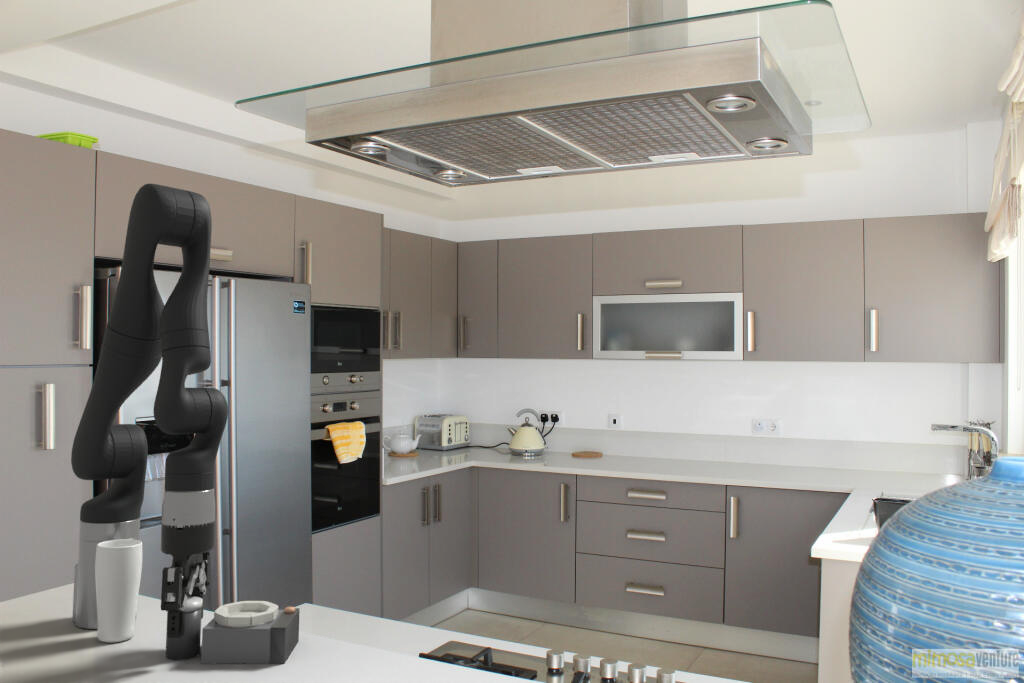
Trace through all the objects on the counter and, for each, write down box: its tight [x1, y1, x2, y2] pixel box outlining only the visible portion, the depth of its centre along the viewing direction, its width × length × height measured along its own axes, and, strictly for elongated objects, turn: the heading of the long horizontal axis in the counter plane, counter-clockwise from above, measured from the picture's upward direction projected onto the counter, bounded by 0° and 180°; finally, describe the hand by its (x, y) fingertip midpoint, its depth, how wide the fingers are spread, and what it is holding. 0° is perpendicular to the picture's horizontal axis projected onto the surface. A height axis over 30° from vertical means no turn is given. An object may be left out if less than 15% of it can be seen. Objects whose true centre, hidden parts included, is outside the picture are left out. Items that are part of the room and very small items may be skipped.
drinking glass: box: [95, 539, 144, 644], centre depth 129 cm, size 7×7×15 cm
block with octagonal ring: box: [200, 600, 301, 665], centre depth 124 cm, size 12×10×6 cm
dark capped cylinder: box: [165, 597, 204, 661], centre depth 122 cm, size 5×5×8 cm
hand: (185, 628), depth 122 cm, fingers open, 8 cm apart
